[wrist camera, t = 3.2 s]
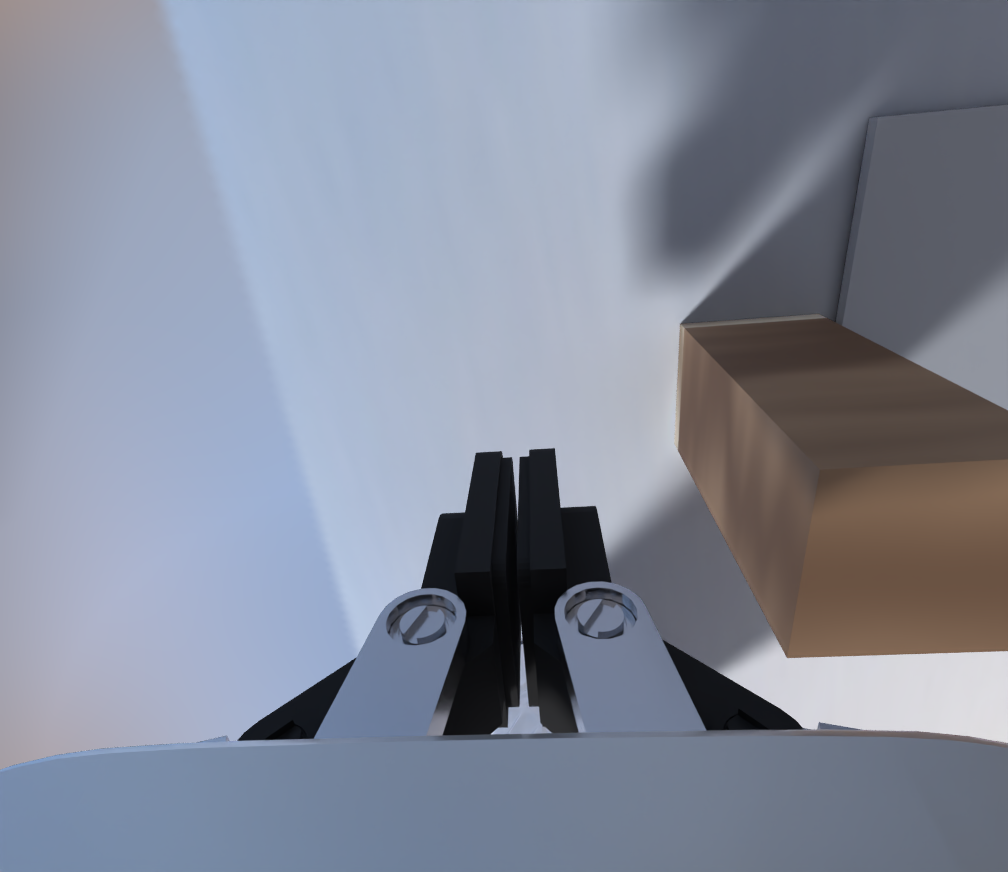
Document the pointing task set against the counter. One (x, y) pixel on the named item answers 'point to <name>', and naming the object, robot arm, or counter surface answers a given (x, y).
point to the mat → (934, 245)
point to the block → (848, 486)
